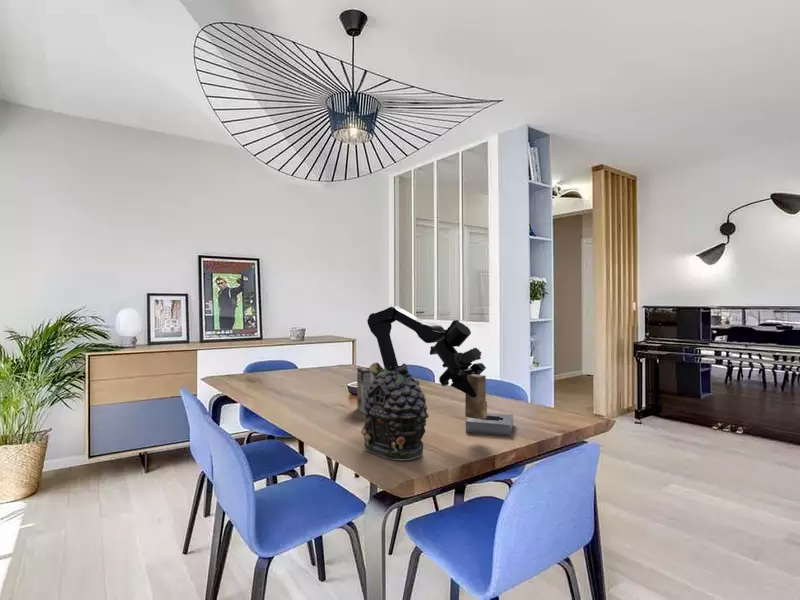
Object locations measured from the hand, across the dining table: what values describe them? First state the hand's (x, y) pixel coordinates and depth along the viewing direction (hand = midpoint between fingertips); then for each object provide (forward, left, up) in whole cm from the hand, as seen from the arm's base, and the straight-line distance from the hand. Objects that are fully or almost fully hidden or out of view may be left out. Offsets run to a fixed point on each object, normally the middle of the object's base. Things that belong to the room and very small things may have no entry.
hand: (479, 395), depth 136 cm
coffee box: (-11, +52, -14) cm, 55 cm away
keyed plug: (0, +1, -7) cm, 7 cm away
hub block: (+12, +8, -13) cm, 20 cm away
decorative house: (-28, +4, -14) cm, 31 cm away
